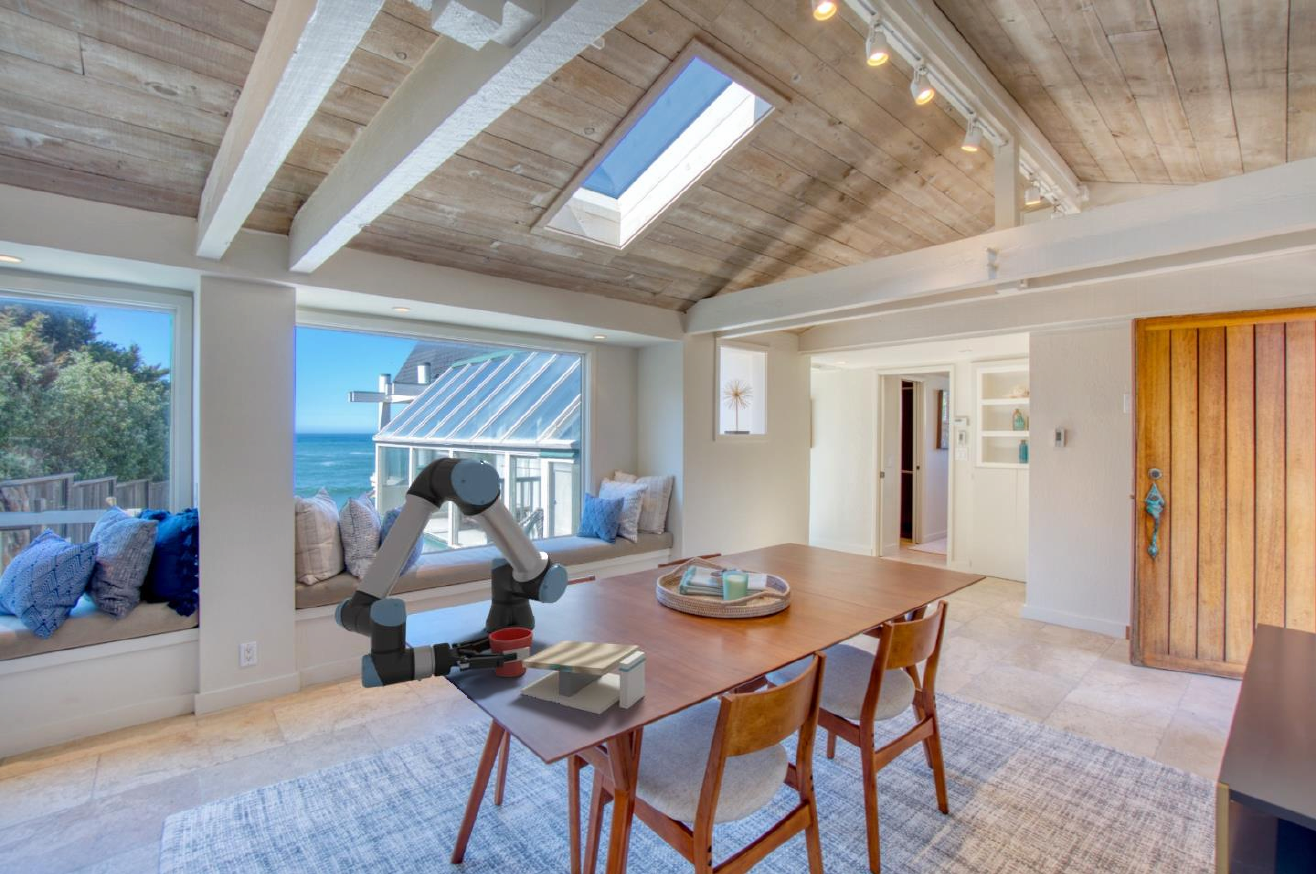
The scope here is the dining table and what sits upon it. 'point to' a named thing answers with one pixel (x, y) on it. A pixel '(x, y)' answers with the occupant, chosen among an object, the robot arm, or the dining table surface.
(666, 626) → the dining table surface
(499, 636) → the flower pot
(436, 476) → the robot arm
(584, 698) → the stand
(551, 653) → the plate
